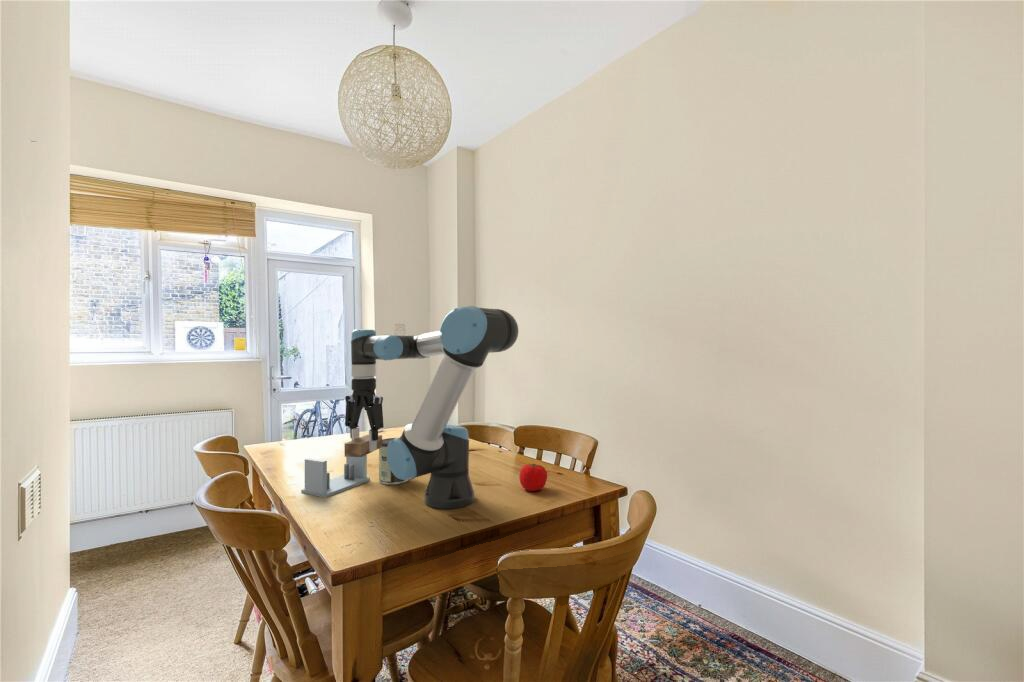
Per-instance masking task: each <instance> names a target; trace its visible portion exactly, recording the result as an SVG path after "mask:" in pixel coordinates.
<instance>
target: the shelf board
mask: <svg viewBox="0 0 1024 682" xmlns="http://www.w3.org/2000/svg"><path fill="white" fill-rule="evenodd" d="M382 440H383V435H382V434H378V440H377V450H379V448H381V447H382ZM373 452H374V451H371V452H369V434H365V435H362V436H359V438H357V439H355V440H352V439H351V440H350V441H347V442H345V443H344V457H345V458H346V457H363V456H365V455H367V456H368V455H369V454H371V453H373Z"/></svg>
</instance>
